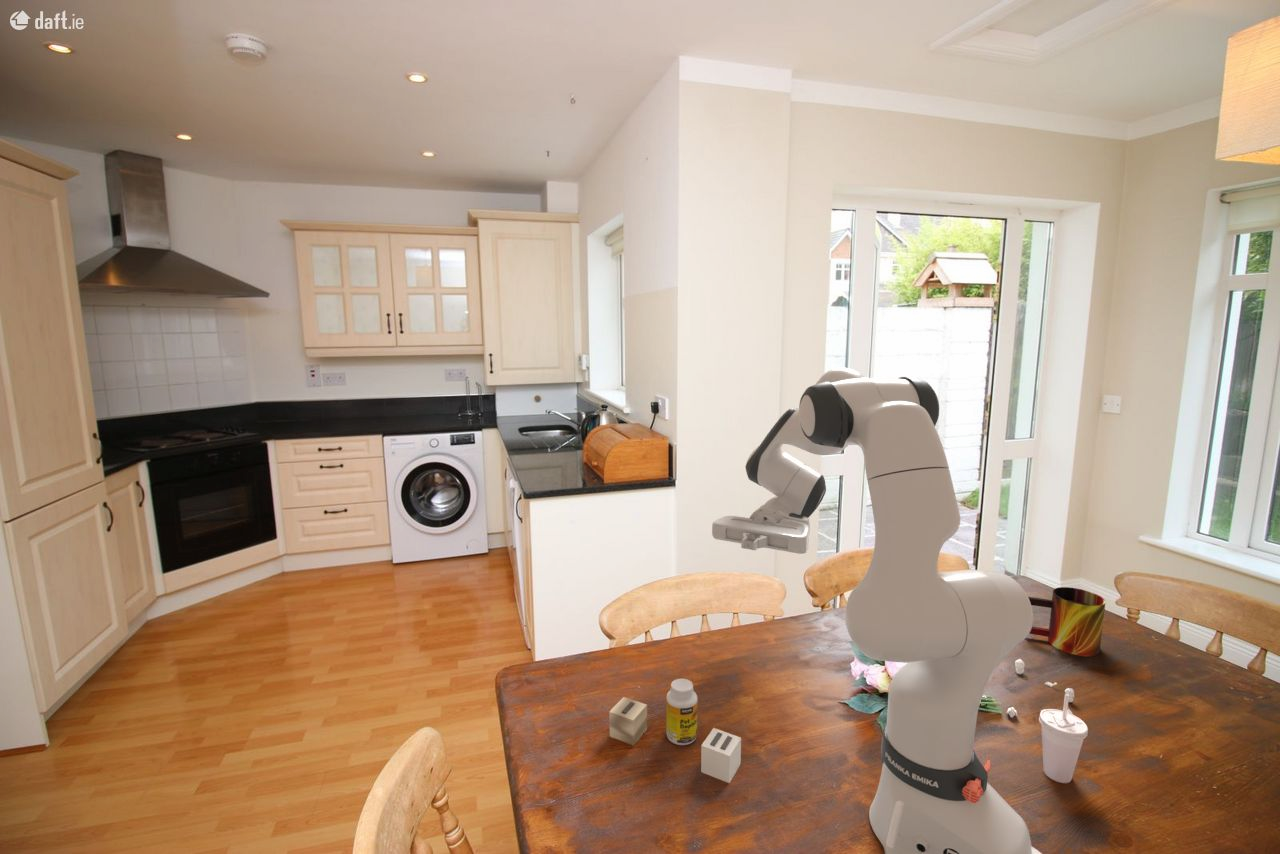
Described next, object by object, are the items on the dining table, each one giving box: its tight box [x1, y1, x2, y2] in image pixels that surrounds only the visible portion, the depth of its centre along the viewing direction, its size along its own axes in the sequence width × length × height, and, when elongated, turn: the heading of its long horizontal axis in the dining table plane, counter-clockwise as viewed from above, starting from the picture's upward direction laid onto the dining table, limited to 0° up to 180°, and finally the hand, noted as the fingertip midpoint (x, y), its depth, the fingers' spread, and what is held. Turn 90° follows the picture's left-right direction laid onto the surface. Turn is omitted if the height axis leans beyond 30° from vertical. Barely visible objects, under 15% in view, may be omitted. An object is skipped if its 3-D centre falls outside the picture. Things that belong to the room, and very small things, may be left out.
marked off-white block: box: [700, 727, 742, 784], centre depth 98 cm, size 5×5×5 cm
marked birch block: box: [608, 696, 648, 747], centre depth 107 cm, size 5×5×5 cm
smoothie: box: [1038, 693, 1089, 784], centre depth 95 cm, size 6×6×14 cm
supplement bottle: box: [665, 678, 698, 746], centre depth 105 cm, size 6×6×10 cm
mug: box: [1028, 586, 1107, 658], centre depth 134 cm, size 10×14×12 cm
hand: (748, 545), depth 117 cm, fingers closed
